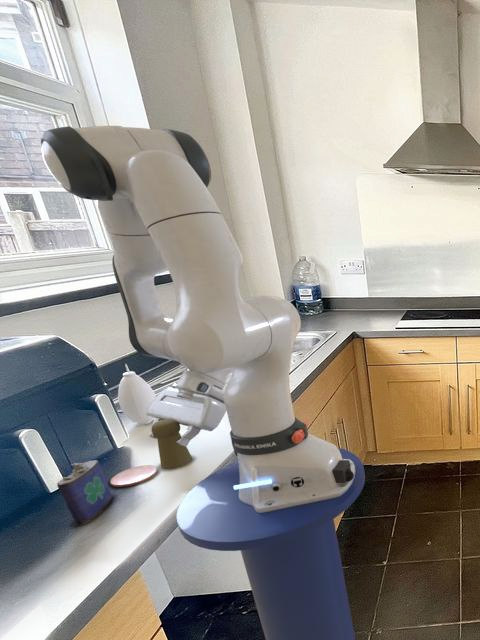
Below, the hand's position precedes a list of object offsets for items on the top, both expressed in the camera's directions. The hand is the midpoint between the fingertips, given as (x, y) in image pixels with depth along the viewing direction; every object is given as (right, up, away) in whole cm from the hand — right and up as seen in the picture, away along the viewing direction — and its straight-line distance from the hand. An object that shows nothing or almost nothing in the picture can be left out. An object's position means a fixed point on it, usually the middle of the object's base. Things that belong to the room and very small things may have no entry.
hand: (167, 441), depth 97 cm
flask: (-2, -12, -14) cm, 19 cm away
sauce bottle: (-25, +2, +23) cm, 34 cm away
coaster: (-5, -8, -3) cm, 9 cm away
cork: (0, -6, +3) cm, 6 cm away
